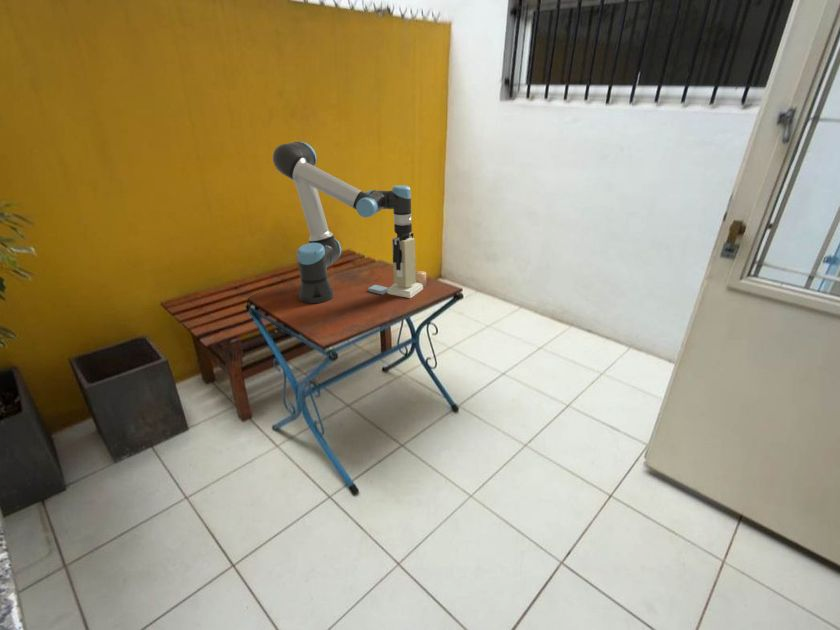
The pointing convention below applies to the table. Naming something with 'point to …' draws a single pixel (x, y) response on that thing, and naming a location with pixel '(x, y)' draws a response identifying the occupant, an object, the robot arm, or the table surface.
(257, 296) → the table surface
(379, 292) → the book
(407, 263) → the tall cream block
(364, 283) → the table surface
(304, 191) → the robot arm
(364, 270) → the table surface
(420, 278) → the peach egg shape
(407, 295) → the podium
